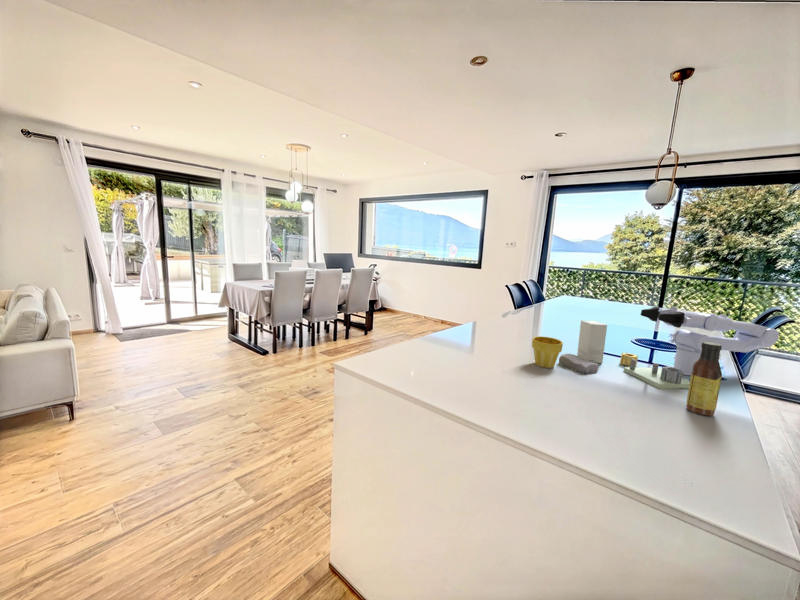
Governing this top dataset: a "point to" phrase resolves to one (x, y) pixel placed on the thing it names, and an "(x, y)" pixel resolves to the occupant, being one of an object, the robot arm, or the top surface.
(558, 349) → the plant pot
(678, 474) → the top surface
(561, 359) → the stone block
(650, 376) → the gear board
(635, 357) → the brass gear
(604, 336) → the skincare box
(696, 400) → the sauce bottle
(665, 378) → the steel gear
